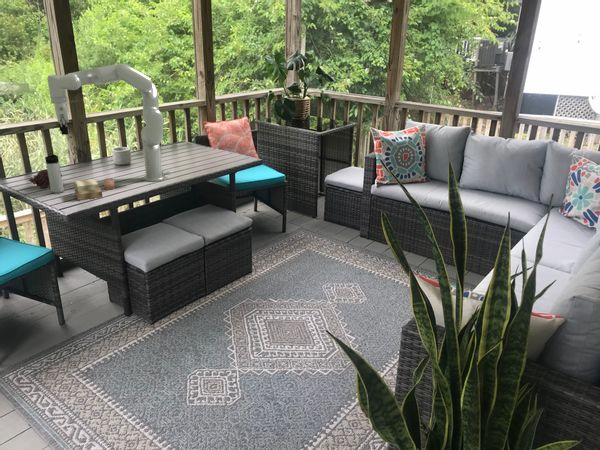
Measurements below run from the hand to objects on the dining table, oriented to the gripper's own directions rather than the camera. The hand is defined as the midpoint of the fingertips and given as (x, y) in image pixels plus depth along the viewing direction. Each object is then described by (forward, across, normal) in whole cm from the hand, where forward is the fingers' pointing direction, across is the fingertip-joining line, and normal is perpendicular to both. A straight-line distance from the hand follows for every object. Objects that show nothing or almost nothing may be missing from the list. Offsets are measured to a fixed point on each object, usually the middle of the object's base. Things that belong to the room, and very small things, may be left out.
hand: (64, 132), depth 258 cm
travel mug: (+31, -3, +8) cm, 33 cm away
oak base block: (+32, -17, -6) cm, 36 cm away
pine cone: (+31, +9, +12) cm, 35 cm away
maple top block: (+28, -17, -6) cm, 33 cm away
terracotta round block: (+31, -8, -18) cm, 37 cm away
